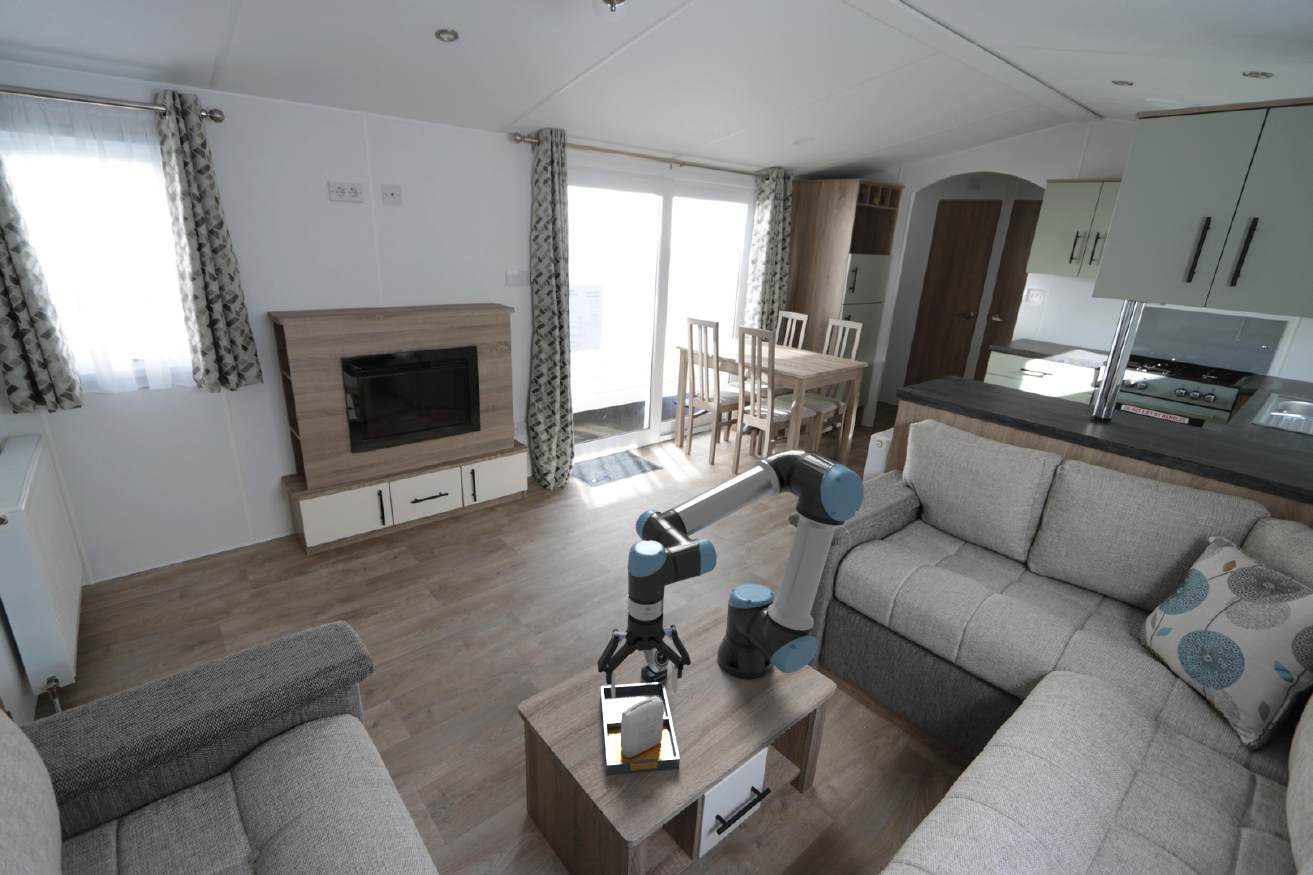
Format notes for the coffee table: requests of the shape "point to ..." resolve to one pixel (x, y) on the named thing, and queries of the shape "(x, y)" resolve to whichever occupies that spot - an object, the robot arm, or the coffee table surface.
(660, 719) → the photo printer
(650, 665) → the watch
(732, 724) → the coffee table surface
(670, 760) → the tray
